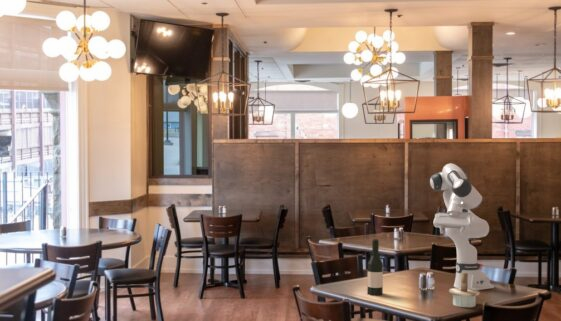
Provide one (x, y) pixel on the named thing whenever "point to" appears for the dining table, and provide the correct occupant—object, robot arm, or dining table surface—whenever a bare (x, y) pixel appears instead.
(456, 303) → the bowl
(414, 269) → the dining table surface
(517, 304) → the dining table surface
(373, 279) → the wine bottle
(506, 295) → the dining table surface
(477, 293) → the lid
